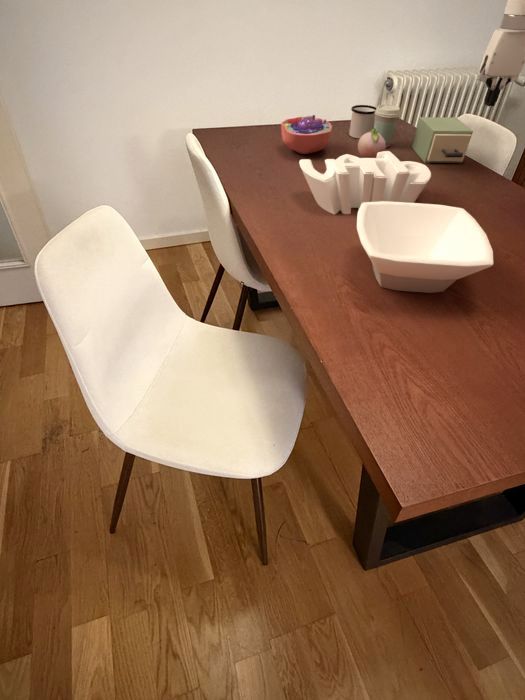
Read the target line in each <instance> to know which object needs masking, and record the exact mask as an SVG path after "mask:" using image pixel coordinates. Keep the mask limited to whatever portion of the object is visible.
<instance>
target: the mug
mask: <svg viewBox="0 0 525 700" xmlns="http://www.w3.org/2000/svg"><path fill="white" fill-rule="evenodd" d="M376 109H377V106H373V105H369V104H356V105H353V106H351V117H350V124H349V131H348V136H350V137H351V138H353V139H358V140H360V138H361V137H362V136H363V135H364V134H365V133H368V132H371V130H374V123H375V110H376Z"/></svg>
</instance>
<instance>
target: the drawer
mask: <svg viewBox="0 0 525 700" xmlns="http://www.w3.org/2000/svg"><path fill="white" fill-rule="evenodd" d="M472 136H473V134H472V135H471V134H435V135H434V138H433V141H432V145H431V148H430V152H429V155H428V159H427V160H428V161H464V159H465V156H466V153H467V151H468V147H469V145H470V142H471V140H472Z"/></svg>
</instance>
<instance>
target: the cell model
mask: <svg viewBox="0 0 525 700" xmlns="http://www.w3.org/2000/svg"><path fill="white" fill-rule="evenodd" d="M332 128H333V125H332V123H331V122H329V121H327V119H322V118H319V117H316V115H315V114H312V115H306V116H298V117H293V118H287V119H285V120H283V121H281V122H280V133H281V139H282V142H283V144H284V145H285V146H286V148H288V149H289V150H291V151H293V152H296V153H297V154H300V155H309V154H314V153H317V152H319V151H321V150H323V149H324V148H325V147H326V146H327V145H328V143H329V141H330V135H331V132H332Z"/></svg>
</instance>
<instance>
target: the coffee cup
mask: <svg viewBox="0 0 525 700" xmlns="http://www.w3.org/2000/svg"><path fill="white" fill-rule="evenodd" d="M376 108H377V109H376V110H375V119H374V125H373V130H375V129H376V130H377V131H378V133H380V134H381V136H382V137H383V138H384V140H385V149H387V148H389V147H390V145H391V142H392V139H393V136H394V132H395V129H396V127H397V123H398V120H399V117H400V116H401V107H400V106H399V105H394V104H379V105H377V106H376Z"/></svg>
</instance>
